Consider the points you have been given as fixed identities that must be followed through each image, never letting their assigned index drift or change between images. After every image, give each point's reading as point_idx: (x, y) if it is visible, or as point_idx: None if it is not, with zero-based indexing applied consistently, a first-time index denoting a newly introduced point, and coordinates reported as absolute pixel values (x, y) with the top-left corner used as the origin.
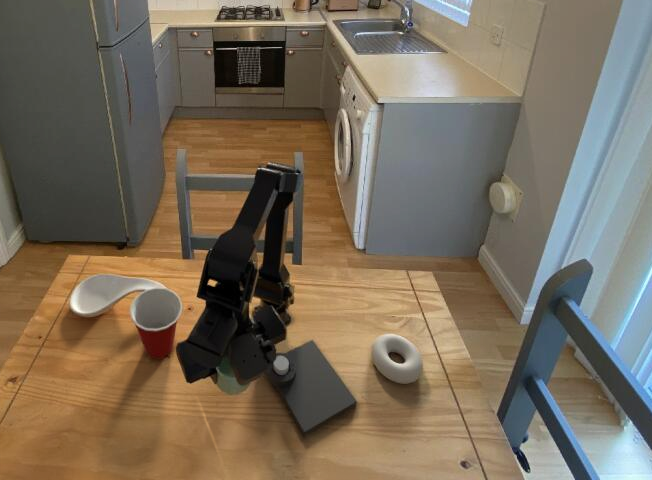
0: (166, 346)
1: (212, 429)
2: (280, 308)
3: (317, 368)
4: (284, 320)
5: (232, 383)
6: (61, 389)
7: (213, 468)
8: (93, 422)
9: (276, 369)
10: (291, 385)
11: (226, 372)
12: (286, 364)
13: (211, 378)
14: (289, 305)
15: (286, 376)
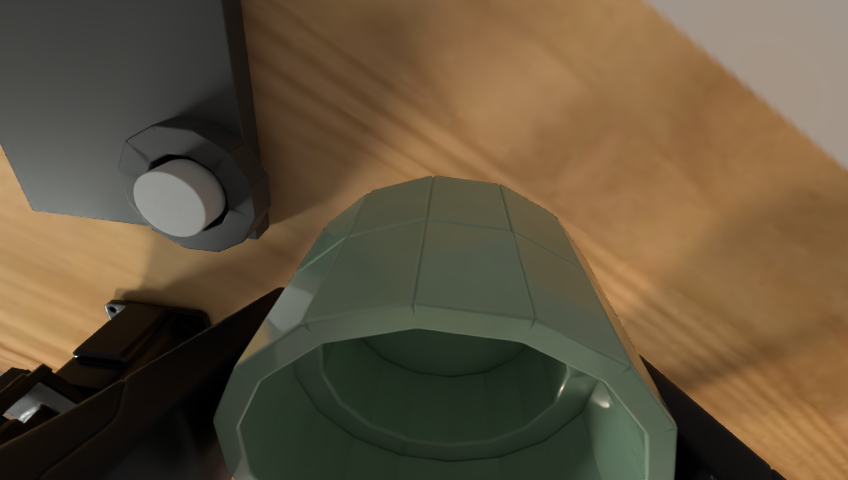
0: None
1: (558, 156)
2: (86, 373)
3: (40, 106)
4: (120, 316)
5: (580, 298)
6: (820, 461)
7: (655, 27)
8: (833, 368)
9: (205, 194)
10: (183, 111)
11: (473, 339)
12: (146, 186)
13: (751, 451)
14: (17, 378)
15: (177, 147)
